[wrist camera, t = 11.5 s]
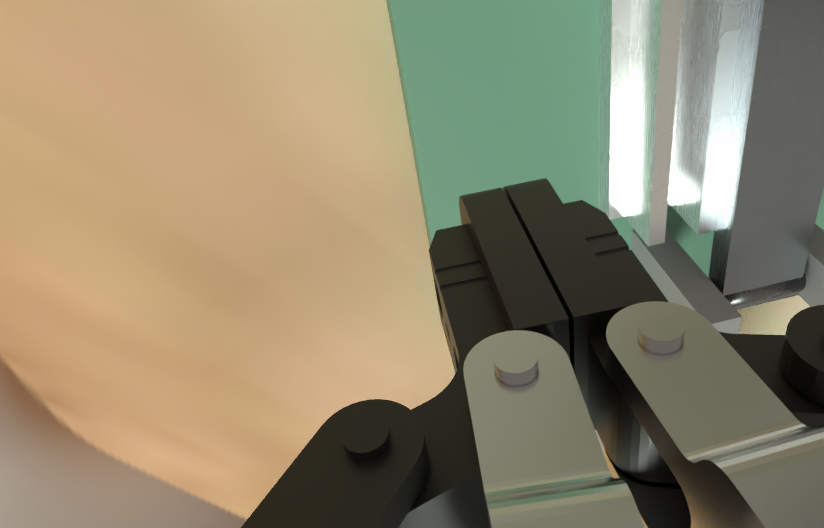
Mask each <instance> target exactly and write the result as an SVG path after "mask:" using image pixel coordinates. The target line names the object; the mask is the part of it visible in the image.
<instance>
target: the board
mask: <svg viewBox="0 0 824 528" xmlns="http://www.w3.org/2000/svg"><path fill="white" fill-rule="evenodd" d="M387 5H388V11H389V17H390V22H391V28H392V34H393V39H394V45H395V51H396V56H397V62H398V68H399V73H400V79H401V85H402V91H403V96H404V102H405V108H406V113H407V119H408V125H409V130H410V136H411V142H412V148H413V153H414V159H415V165H416V170H417V176H418V182H419V187H420V193H421V199H422V204H423V210H424V216H425V222H426V227H427V233H428V239H429V244H430V246H431V243H432V240H433V238H434V235H435V232H436V230H440V229H445V228H450V227H455V226H459V225H462V223H461V216H460V208H459V196H462V195H466V194H471V193H476V192H481V191H486V190H491V189H495V188H500V187H501V188H502V189H503V187H504V186H509V185H514V184H519V183H524V182H528V181H533V180H538V179H543V178H546V179H547V180H548V181H549V182H550V184H551V185H552V187H553V189H554V190H555V192H556V193H557V195H558V196H559V198H560V200H561V201H562V203H563V204H564V203H569V202H574V201H579V200H583V201H585V202H587V203H588V204H590V205H592V206H594V207H595V208H597V209H599V210H601V209H600V208H599V207H598V171H599V0H387ZM610 221H611V222H612V223H613V225H614V226H615V227H616V229H617V230H618V234H619V235H621V236H622V237H623V239H624V240H625V241H626V243H627V244H628V246H629V250H632V251H633V253H634V254H635V255H636V257H637V258H638V260H639V261H640V262H641V264H642V265H643V267H644V268H645V269H646V271H647V272H648V274H649V275H650V276H651V278H652V279H653V281H654V282H655V283H656V285H657V286H658V288H659V289H660V290H661V292H662V293H663V295H664V296H665V297H666V299H667V300H668V302H670V303H675V304H679V305H682V306H685V307H688V308H690V309H692V310H694V311H696V312H698V313H699V314H701V315H702V316H704V317H705V318H706V319H707V320H708V321H709V322H710V323H711V324H712V325H713V326H714V327H715V328H716V330H717V331H718V332H724V333H731V334H739V331H740V325H741V319H742V316H741V315H740V314H739V313H738V312H737V310H736V309H735V308H734V307H733V306H732V305H731V304H730V302H729V301H728V300H727V299H726V298H725V297H724V295H723V294H722V293H721V292H720V291H719V290H718V288H717V287H716V286H715V285H714V284H713V283H712V282H711V280H710V279H709V278H708V277H709V269H710V261H711V253H712V245H713V237H714V231H712V232H708V233H704V234H699V235H697V234H696V232H695V231H694V230H693V229H692V228H691V227H690V226H689V225H688V224H687V223H686V222H685V220H684V219H683V218H682V217H681V216H680V215H679V214H678V213H677V212H676V211H675V210H674V209H673V207H672V206H668V207H667V218H666V231H665V243H661V244H656V245H652V246H647V244H646V243H645V242H644V241H643V239H642V238H641V237H640V236H639V234H638V233H637V232H636V231H635V229H634V228H633V227H632V226H631V224H630V223H629V222H628V221H627V219H626V218H625V217H620V218H616V219H611V220H610ZM804 273H805V276H806V286H805V288H804V290H802V291H800V292H799V296H800V297H801V298H802V299H803V300H804V301H806V302H807V303H808V304H809V305H810V306H811V307H813V306H817V305H824V188H823V192H822V196H821V201H820V205H819V209H818V214H817V218H816V222H815V227H814V231H813V235H812V240H811V244H810V248H809V253H808V257H807V261H806V266H805V270H804Z"/></svg>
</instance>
